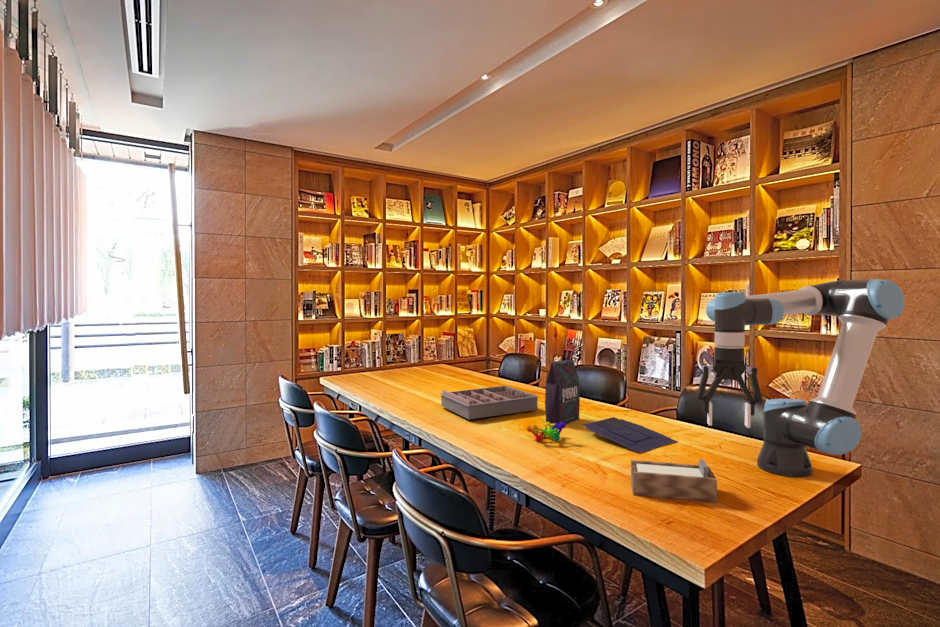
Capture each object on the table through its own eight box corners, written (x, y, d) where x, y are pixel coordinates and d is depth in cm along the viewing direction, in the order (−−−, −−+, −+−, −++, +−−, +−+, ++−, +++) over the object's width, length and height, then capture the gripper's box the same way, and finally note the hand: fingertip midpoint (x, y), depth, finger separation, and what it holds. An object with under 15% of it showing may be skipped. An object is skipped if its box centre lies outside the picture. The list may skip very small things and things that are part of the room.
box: (708, 487, 143) (708, 465, 143) (716, 502, 132) (717, 479, 132) (630, 480, 149) (631, 459, 149) (633, 494, 138) (633, 472, 138)
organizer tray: (539, 412, 236) (539, 392, 236) (467, 423, 218) (467, 401, 217) (505, 399, 264) (505, 382, 264) (439, 408, 246) (439, 389, 246)
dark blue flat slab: (616, 422, 211) (616, 414, 211) (677, 448, 187) (678, 439, 186) (577, 431, 198) (578, 423, 197) (638, 460, 173) (639, 451, 173)
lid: (704, 471, 142) (704, 458, 142) (709, 481, 134) (710, 468, 134) (636, 466, 147) (636, 453, 147) (638, 475, 139) (638, 462, 139)
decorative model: (525, 425, 197) (560, 416, 197) (531, 447, 195) (566, 437, 195) (527, 426, 184) (564, 415, 185) (533, 449, 183) (571, 438, 183)
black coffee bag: (580, 420, 220) (580, 359, 219) (559, 427, 209) (558, 363, 208) (565, 416, 226) (565, 358, 225) (544, 423, 215) (543, 361, 214)
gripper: (768, 345, 136) (767, 424, 136) (685, 344, 141) (684, 419, 142) (777, 349, 128) (776, 431, 129) (689, 347, 134) (689, 426, 135)
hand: (728, 425), depth 136 cm, fingers open, 9 cm apart
